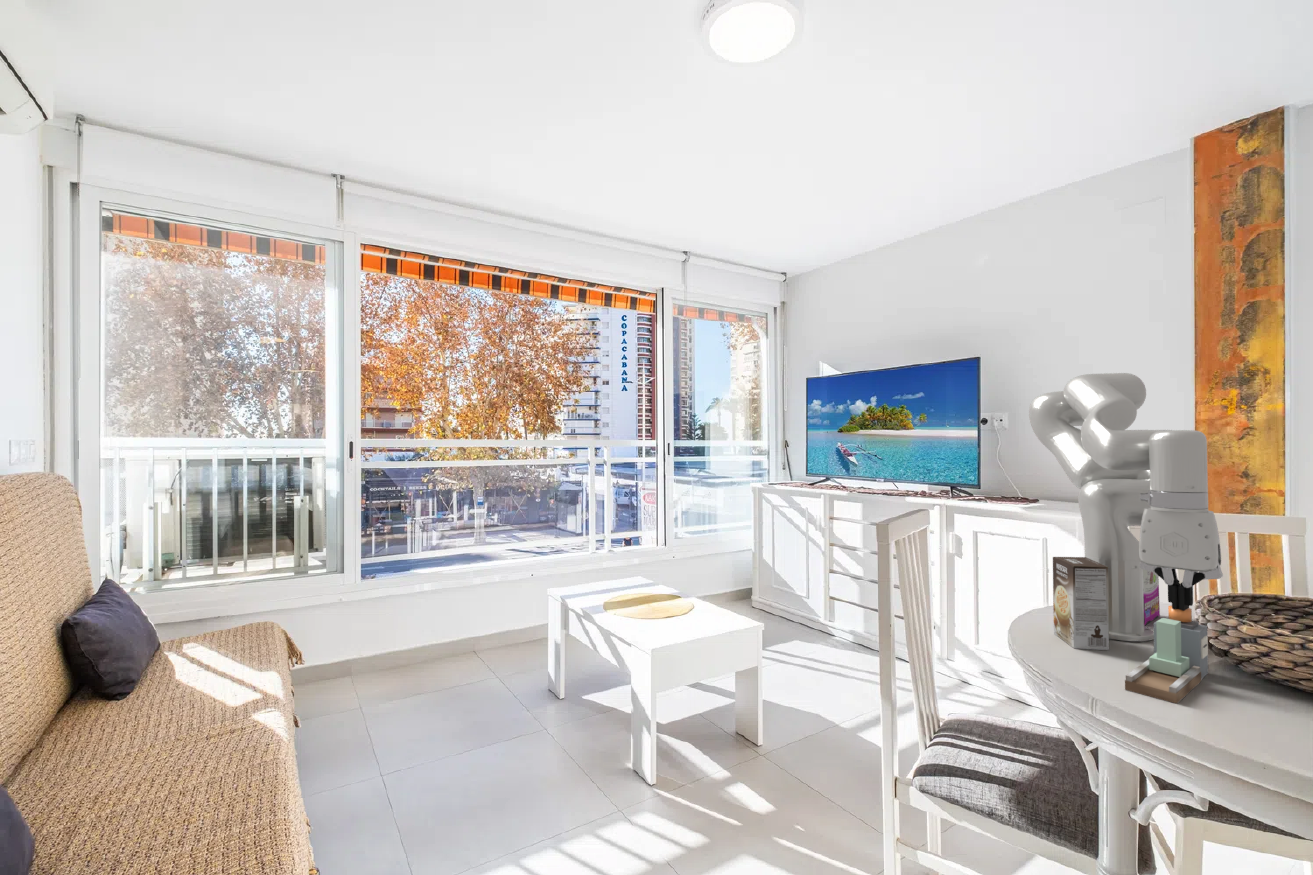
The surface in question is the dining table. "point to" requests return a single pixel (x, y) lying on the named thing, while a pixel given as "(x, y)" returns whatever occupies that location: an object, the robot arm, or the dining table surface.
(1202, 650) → the grey upright housing
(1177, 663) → the carriage
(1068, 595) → the coffee box
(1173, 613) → the button
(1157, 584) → the candy bar box
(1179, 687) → the rail track
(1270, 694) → the dining table surface
